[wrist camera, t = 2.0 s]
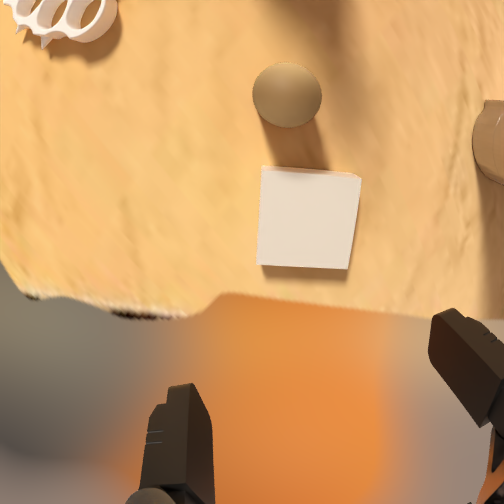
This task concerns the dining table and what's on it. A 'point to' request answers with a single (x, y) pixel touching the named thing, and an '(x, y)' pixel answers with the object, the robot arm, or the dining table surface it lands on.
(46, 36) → the white holed flat part
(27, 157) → the dining table surface
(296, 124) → the ochre cylinder
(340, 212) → the white base
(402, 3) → the dining table surface
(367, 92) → the dining table surface
